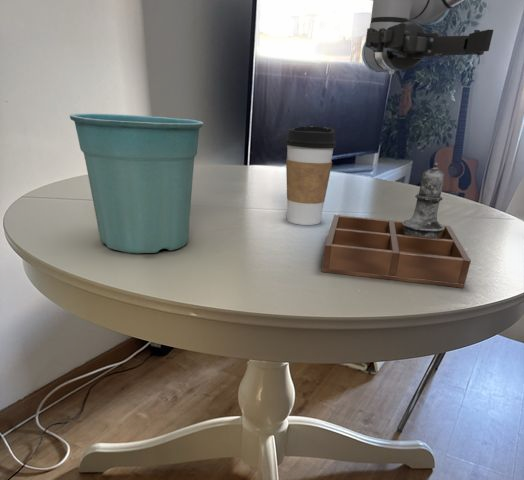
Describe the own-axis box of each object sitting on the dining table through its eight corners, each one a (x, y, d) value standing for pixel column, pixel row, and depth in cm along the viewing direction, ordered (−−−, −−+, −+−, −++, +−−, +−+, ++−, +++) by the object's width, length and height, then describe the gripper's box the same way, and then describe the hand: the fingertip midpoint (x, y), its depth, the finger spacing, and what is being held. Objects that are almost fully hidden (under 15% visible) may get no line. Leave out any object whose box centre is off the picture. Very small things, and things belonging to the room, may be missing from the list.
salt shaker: (400, 241, 73) (416, 157, 67) (440, 247, 71) (459, 161, 66) (394, 251, 68) (411, 161, 62) (437, 257, 66) (458, 166, 61)
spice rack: (445, 248, 73) (450, 225, 72) (463, 288, 58) (471, 260, 57) (331, 236, 76) (334, 214, 74) (321, 271, 61) (324, 245, 59)
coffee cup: (333, 219, 86) (344, 128, 79) (318, 229, 80) (328, 131, 72) (290, 213, 89) (297, 124, 82) (272, 222, 83) (278, 126, 75)
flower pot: (155, 222, 79) (149, 113, 71) (227, 244, 70) (229, 122, 62) (62, 239, 67) (43, 112, 60) (133, 268, 58) (121, 123, 51)
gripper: (458, 74, 93) (516, 71, 75) (332, 66, 91) (360, 61, 73) (468, 28, 90) (532, 12, 71) (337, 19, 88) (368, 0, 69)
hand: (445, 37), depth 72 cm, fingers open, 13 cm apart
